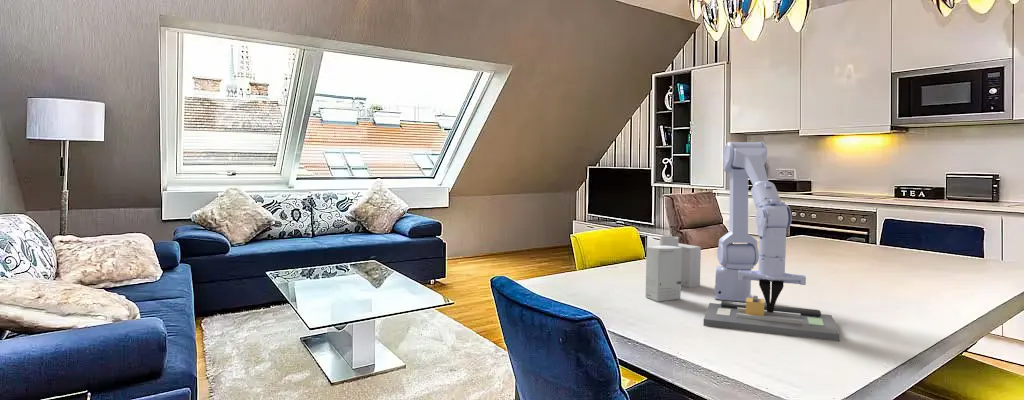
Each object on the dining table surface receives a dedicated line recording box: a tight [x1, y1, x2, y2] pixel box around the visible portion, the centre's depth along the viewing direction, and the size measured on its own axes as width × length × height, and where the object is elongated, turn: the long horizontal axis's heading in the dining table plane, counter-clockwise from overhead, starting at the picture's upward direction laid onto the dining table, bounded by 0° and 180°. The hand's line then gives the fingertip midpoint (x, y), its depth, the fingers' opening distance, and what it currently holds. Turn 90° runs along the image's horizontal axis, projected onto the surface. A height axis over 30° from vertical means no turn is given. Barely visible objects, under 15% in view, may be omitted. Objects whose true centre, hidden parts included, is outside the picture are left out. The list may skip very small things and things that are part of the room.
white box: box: [659, 235, 702, 288], centre depth 174 cm, size 12×14×15 cm
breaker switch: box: [745, 295, 765, 316], centre depth 135 cm, size 4×4×4 cm
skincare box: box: [644, 245, 682, 302], centre depth 157 cm, size 8×6×15 cm
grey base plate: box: [703, 300, 841, 342], centre depth 134 cm, size 28×16×3 cm, turn 66°
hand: (770, 311), depth 133 cm, fingers closed
